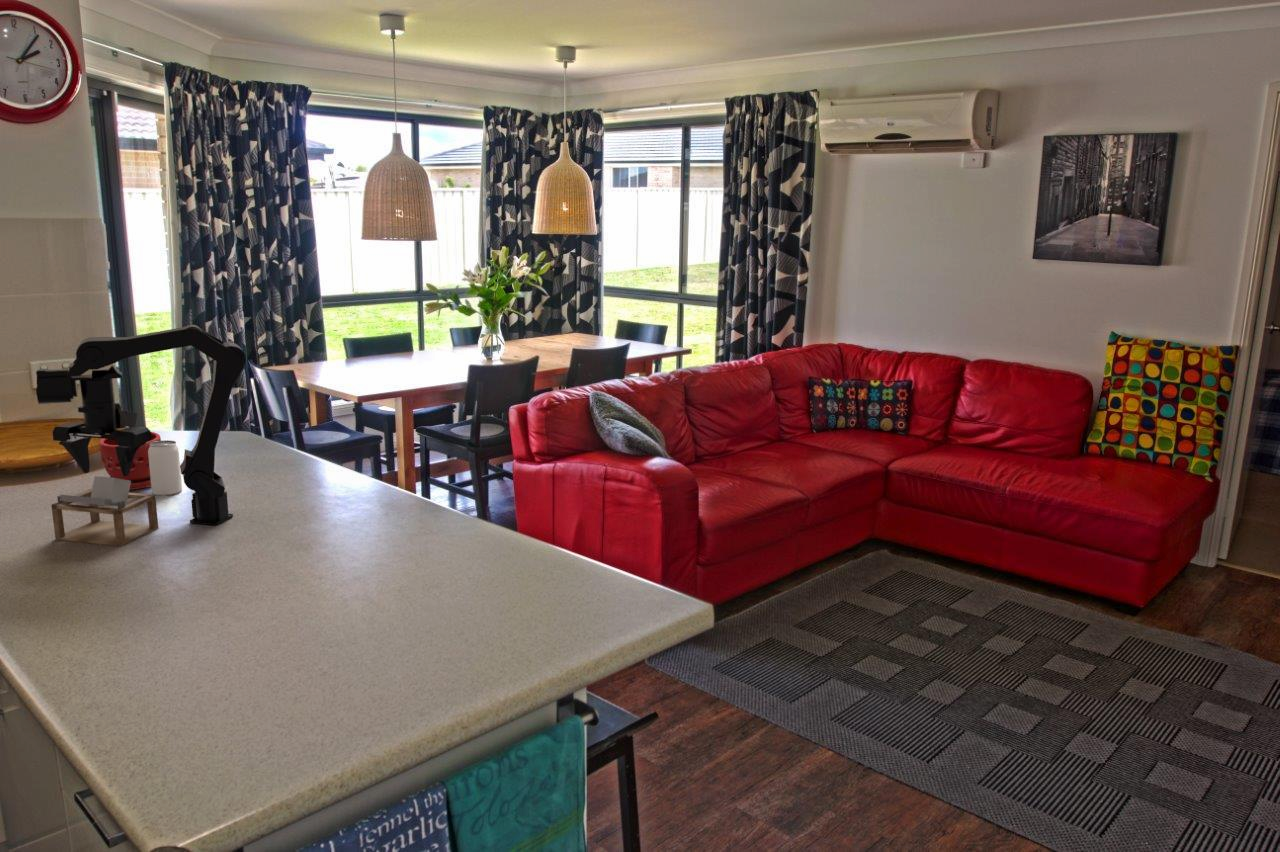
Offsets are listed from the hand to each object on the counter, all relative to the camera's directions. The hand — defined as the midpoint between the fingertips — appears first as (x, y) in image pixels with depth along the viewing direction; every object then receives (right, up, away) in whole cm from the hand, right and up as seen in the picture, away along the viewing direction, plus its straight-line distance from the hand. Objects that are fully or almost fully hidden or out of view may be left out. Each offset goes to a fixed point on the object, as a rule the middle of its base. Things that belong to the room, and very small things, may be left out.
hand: (106, 474), depth 194 cm
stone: (0, -6, +1) cm, 6 cm away
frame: (-1, -12, +2) cm, 13 cm away
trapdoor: (-1, -6, -1) cm, 6 cm away
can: (-2, -6, +30) cm, 30 cm away
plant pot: (-13, -5, +34) cm, 37 cm away
